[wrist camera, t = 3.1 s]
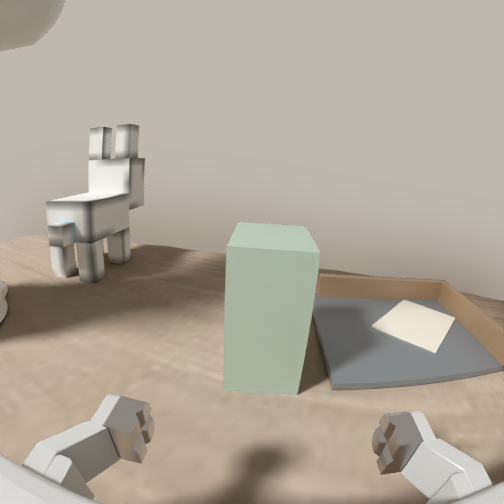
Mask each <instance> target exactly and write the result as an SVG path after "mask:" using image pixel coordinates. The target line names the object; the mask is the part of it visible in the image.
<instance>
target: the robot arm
mask: <svg viewBox="0 0 504 504" xmlns="http://www.w3.org/2000/svg"><path fill="white" fill-rule="evenodd" d="M64 2H65V0H0V51H5V50H9V49H15V48H20V47H24V46H30V45H33V44H35V43H36V42H37V41H39V40H40V39H41V38H42V37H43V36H44V35H45V34H46V33H47V32H48V31H49V30H50V29H51V28H52V26H53V25H54V24H55V22H56V21H57V19H58V17H59V15H60V13H61V11H62V9H63V6H64ZM7 292H8V288H7V285H6V282H4V281H1V280H0V323H1V321H2V320H3V319H4V317H5V315H6V313H7V309H8V306H7V302H6V300H5V296H6V294H7ZM150 411H151V408H150V404H149V403H147V402H143V401H139V400H135V399H131V398H127V397H123V396H119V395H115V394H112V393H110V394H108V395H107V396H106V397H105V399H104V400H103V402H102V403H101V405H100V407H99V408H98V410H97V411H96V413H95V415H94V416H93V418H92V419H91V421H90V422H88V421H85V422H83V423H81V424H79V425H77V426H75V427H72V428H70V429H68V430H66V431H64V432H61V433H59V434H57V435H55V436H52V437H50V438H48V439H45V440H43V441H41V442H38V443H37V444H36V446H35V447H34V448H33V450H32V451H31V453H30V454H29V456H28V457H27V459H26V460H25V462H24V463H23V465H22V466H21V465H20V464H18V463H16V462H15V461H13V460H11V459H10V458H8V457H6V456H5V455H3V454H2V453H0V504H103V503H100V502H98V501H95V500H93V498H94V494H93V492H92V491H91V490H90V488H89V487H88V485H87V484H86V483H87V482H88V481H90V480H91V479H93V478H94V477H96V476H97V475H99V474H100V473H101V472H103V471H104V470H106V469H107V468H109V467H110V466H111V465H113V464H114V463H116V462H117V461H118V460H120V458H121V459H124V460H128V461H132V462H137V463H141V464H142V462H143V460H144V457H145V454H146V452H147V448H146V445H145V444H147V443H149V442H150V441H151V439H152V436H153V431H154V421H153V418H152V417H151V416H150V415H149V414H150ZM379 423H380V425H381V426H380V427H378V428H377V429H376V430H375V432H374V434H373V439H372V447H373V451H374V453H375V454H376V455H378V456H379V458H378V460H377V464H378V468H379V471H380V474H381V475H383V474H390V473H396V472H401V473H402V474H403V475H404V476H405V477H406V478H407V479H408V480H409V481H410V482H411V483H412V484H414V485H415V486H416V487H417V488H418V489H419V490H420V491H421V492H422V493H423V494H425V495H426V496H427V497H428V498H429V499H430V500H429V501H428V502H427V503H426V504H504V481H503V482H501V483H499V484H497V485H495V486H493V484H492V482H491V480H490V478H489V476H488V475H487V473H486V471H485V469H484V467H483V465H482V464H481V463H480V462H478V461H476V460H475V459H473V458H471V457H469V456H468V455H466V454H464V453H463V452H461V451H459V450H458V449H456V448H454V447H453V446H451V445H449V444H448V443H446V442H445V441H443V440H441V439H440V438H439V439H436V437H435V435H434V433H433V431H432V429H431V427H430V425H429V423H428V422H427V420H426V418H425V416H424V414H423V412H422V411H421V410H416V411H410V412H402V413H394V414H386V415H383V416H382V417H381V419H380V421H379Z"/></svg>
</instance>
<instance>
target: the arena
mask: <svg viewBox="0 0 504 504" xmlns="http://www.w3.org/2000/svg"><path fill="white" fill-rule="evenodd" d="M312 316H313V319H314V323H315V327H316V330H317V334H318V338H319V341H320V345H321V349H322V353H323V357H324V360H325V364H326V368H327V372H328V376H329V380H330V384H331V388H332V390H351V389H373V388H389V387H401V386H411V385H421V384H429V383H437V382H444V381H451V380H457V379H463V378H469V377H474V376H480V375H485V374H489V373H494V372H499V371H503V370H504V328H503V327H501V326H500V325H499V324H498V323H497V322H496V321H494V320H493V319H492V318H491V317H490V316H488V315H487V314H486V313H485V312H484V311H482V310H481V309H480V308H479V307H477V306H476V305H475V304H474V303H473V302H471V301H470V300H469V299H468V298H466V297H465V296H464V295H462V294H461V293H460V292H459V291H457V290H456V289H455V288H453V287H452V286H451V285H450V284H448V283H447V282H445V281H444V280H431V279H430V280H429V279H411V278H390V277H373V276H355V275H338V274H322V273H319V279H318V286H317V293H315V298H314V305H313V311H312Z"/></svg>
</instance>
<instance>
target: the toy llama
mask: <svg viewBox="0 0 504 504" xmlns="http://www.w3.org/2000/svg"><path fill="white" fill-rule="evenodd" d="M111 133H112V128H107V127H98V128H91V129H90V148H89V193H84V194H79V195H74V196H70V197H65V198H60V199H56V200H51V201H47V202H46V205H47V222H48V235H49V245H50V253H51V261H52V268H53V275H54V276H58V277H64V278H67V277H69V276H71V275H72V274H74V273H76V272H77V269H76V261H75V251H74V243H76V249H77V259H78V268H79V276H80V281H86V282H91V283H96V282H98V281H99V280H101V279H102V278H103V277H105V269H104V258H103V257H104V246H103V238H105V237H107V243H108V257H109V263H115V264H125V263H126V262H128V261H129V260H131V252H130V229H129V210H131V209H134V208H137V207H140V206H143V205H144V162H145V159H144V158H138V136H139V126H138V125H133V124H127V125H117V132H116V151H115V159H110V152H111Z"/></svg>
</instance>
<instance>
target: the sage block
mask: <svg viewBox="0 0 504 504" xmlns="http://www.w3.org/2000/svg"><path fill="white" fill-rule="evenodd" d="M320 255H321V252H320V251H319V249H318V248H317V246H316V244H315V242H314V241H313V239H312V238H311V236H310V234H309V232H308V231H307V229H306V227H301V226H289V225H276V224H262V223H248V222H238V224H237V226H236V228H235V231H234V232H233V235H232V236H231V238H230V241H229V243H228V245H227V251H226V278H225V313H224V361H223V390H227V391H237V392H249V393H264V394H285V395H297V394H298V389H299V384H300V379H301V374H302V369H303V364H304V358H305V353H306V347H307V341H308V336H309V330H310V324H311V318H312V311H313V305H314V298H315V291H316V285H317V277H318V270H319V262H320Z"/></svg>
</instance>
